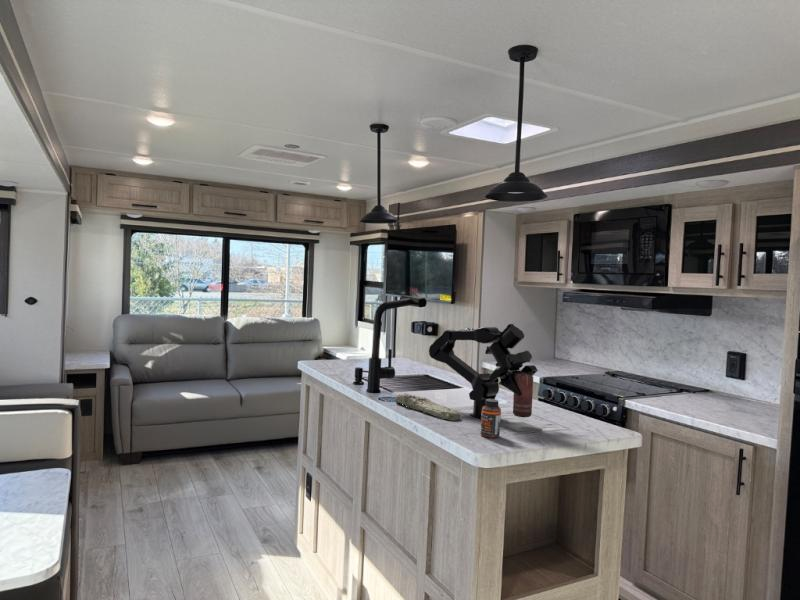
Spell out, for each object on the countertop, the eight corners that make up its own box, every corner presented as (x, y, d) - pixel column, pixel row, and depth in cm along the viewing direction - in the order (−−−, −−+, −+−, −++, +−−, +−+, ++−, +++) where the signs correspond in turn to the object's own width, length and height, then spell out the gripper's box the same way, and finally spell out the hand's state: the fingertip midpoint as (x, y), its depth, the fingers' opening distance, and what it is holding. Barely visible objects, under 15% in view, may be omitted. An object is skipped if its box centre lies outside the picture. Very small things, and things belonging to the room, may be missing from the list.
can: (518, 418, 187) (520, 376, 186) (509, 413, 193) (511, 372, 192) (535, 417, 189) (537, 375, 188) (525, 412, 195) (527, 371, 194)
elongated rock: (444, 426, 194) (466, 425, 200) (446, 411, 194) (468, 410, 199) (387, 401, 222) (407, 400, 228) (388, 387, 222) (409, 387, 228)
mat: (499, 424, 193) (499, 423, 193) (522, 422, 198) (523, 421, 198) (517, 432, 184) (517, 431, 184) (542, 430, 189) (542, 428, 189)
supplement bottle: (476, 436, 177) (478, 399, 177) (485, 432, 182) (487, 397, 182) (494, 439, 174) (496, 402, 174) (502, 436, 179) (504, 400, 179)
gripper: (497, 343, 187) (521, 382, 179) (535, 342, 199) (559, 378, 190) (479, 363, 194) (501, 402, 185) (516, 361, 205) (538, 397, 197)
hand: (526, 394), depth 189 cm, fingers closed on can, 5 cm apart
